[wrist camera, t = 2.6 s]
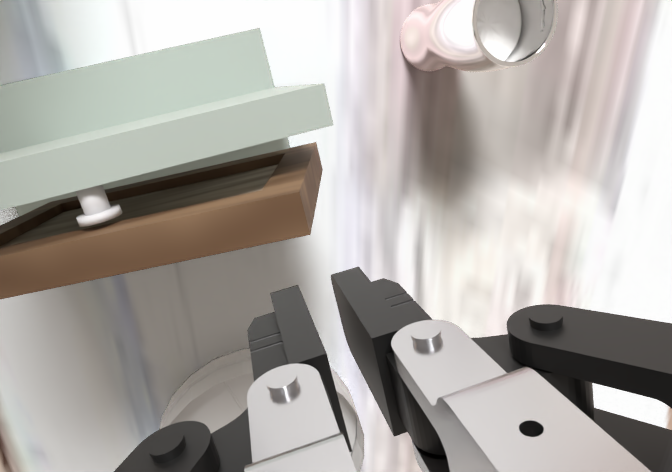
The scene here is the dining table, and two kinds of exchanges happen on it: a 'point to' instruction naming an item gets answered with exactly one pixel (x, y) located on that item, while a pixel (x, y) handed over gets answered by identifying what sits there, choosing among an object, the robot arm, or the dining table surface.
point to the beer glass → (478, 34)
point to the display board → (145, 121)
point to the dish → (242, 398)
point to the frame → (164, 221)
